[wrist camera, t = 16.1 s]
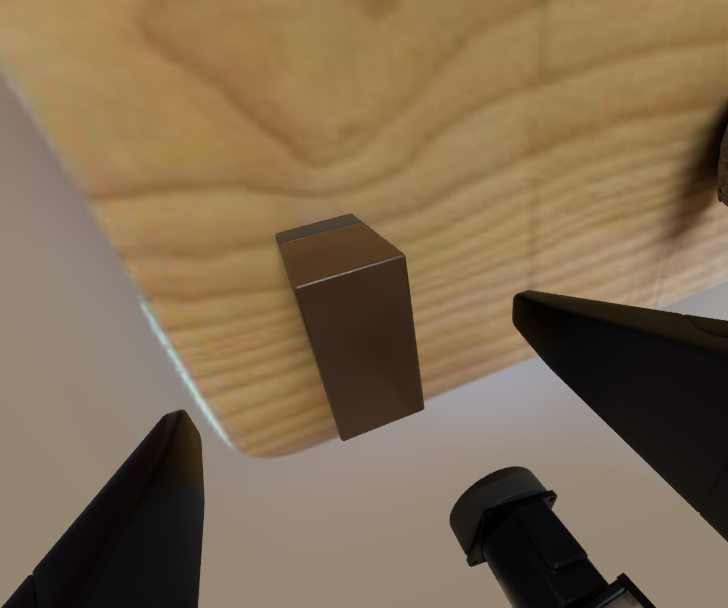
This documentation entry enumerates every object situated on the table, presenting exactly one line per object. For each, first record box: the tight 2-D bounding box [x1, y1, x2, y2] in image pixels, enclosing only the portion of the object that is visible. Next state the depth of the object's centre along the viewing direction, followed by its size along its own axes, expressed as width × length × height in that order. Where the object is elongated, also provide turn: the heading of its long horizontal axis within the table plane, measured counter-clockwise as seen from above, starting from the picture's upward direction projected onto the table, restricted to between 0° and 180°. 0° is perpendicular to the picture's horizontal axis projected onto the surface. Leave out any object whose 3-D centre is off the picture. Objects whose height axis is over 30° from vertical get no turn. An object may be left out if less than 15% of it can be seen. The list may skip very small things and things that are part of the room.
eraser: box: [276, 214, 424, 441], centre depth 11 cm, size 5×3×4 cm, turn 11°
